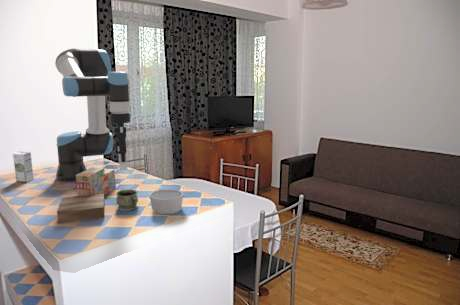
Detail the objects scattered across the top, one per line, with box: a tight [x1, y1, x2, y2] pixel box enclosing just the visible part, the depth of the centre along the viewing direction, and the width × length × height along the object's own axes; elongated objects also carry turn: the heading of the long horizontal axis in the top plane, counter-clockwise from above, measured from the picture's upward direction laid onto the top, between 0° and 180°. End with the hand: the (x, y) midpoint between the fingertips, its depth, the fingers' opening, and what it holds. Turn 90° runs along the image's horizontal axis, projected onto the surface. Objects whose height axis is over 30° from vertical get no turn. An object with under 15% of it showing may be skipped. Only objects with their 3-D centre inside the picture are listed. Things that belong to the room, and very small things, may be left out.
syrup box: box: [12, 150, 35, 183], centre depth 181 cm, size 6×6×14 cm
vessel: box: [115, 189, 139, 211], centre depth 149 cm, size 12×9×6 cm
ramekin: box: [149, 188, 184, 216], centre depth 146 cm, size 13×13×7 cm
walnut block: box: [56, 194, 106, 224], centre depth 142 cm, size 16×16×5 cm
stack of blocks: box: [75, 167, 117, 196], centre depth 163 cm, size 21×6×12 cm, turn 169°
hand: (122, 165), depth 145 cm, fingers open, 13 cm apart
